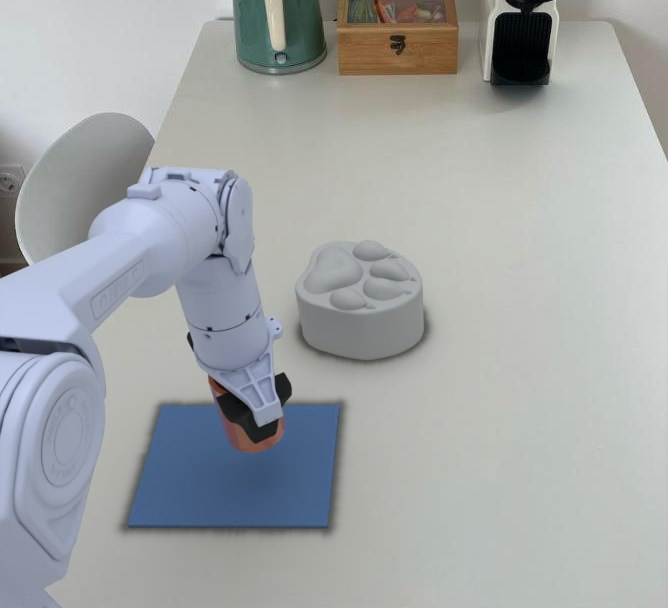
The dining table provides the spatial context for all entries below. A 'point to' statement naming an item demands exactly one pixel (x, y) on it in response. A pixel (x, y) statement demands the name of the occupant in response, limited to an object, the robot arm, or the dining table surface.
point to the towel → (237, 472)
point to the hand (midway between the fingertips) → (251, 411)
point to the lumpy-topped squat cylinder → (360, 300)
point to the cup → (236, 432)
